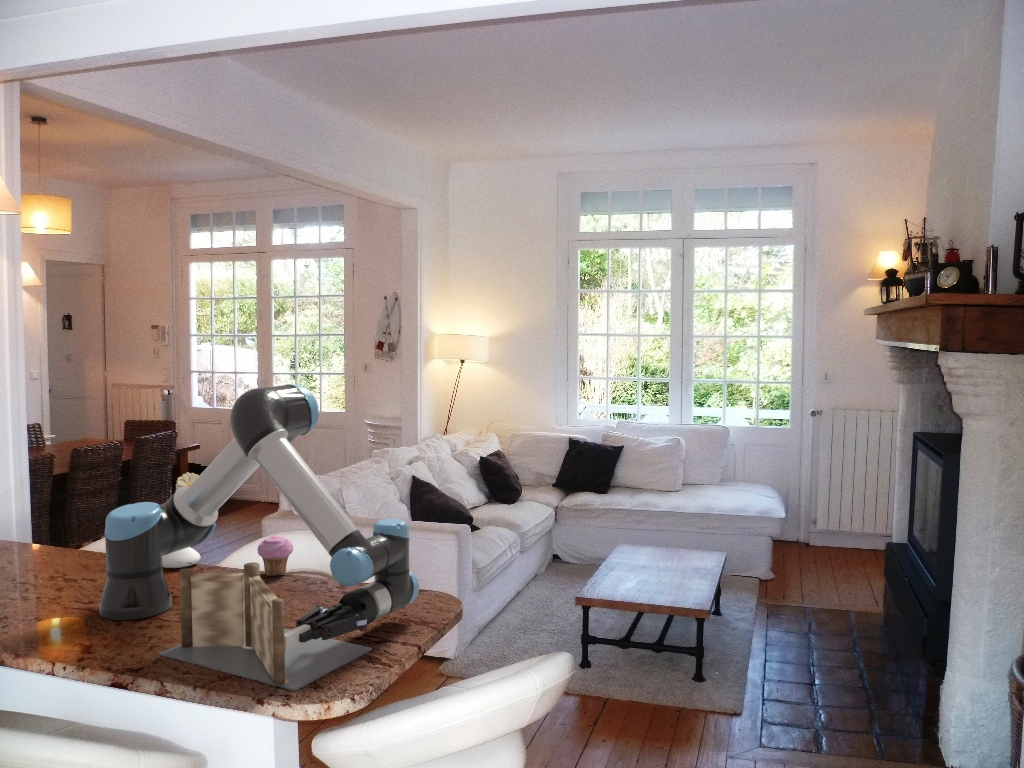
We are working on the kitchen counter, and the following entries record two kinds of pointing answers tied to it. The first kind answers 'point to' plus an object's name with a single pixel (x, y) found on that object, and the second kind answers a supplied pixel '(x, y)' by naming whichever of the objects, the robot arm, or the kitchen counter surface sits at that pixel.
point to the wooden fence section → (216, 607)
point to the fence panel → (267, 628)
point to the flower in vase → (187, 553)
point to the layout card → (299, 661)
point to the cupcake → (275, 554)
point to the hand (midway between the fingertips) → (283, 643)
